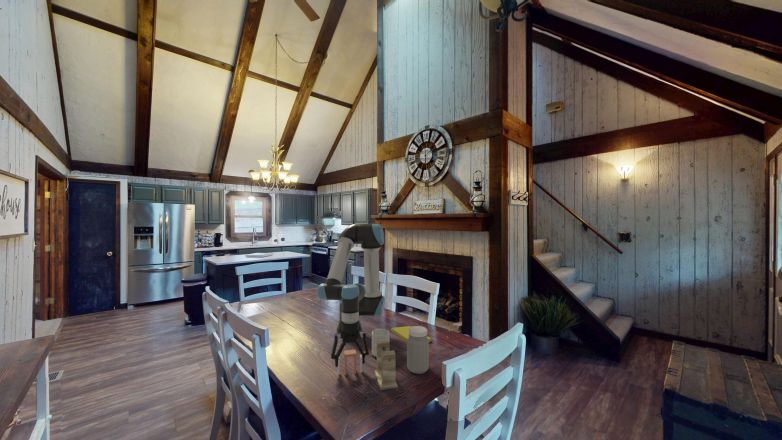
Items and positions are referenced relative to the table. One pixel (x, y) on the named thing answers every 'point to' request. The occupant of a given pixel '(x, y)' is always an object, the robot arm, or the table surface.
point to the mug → (378, 338)
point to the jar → (417, 350)
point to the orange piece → (346, 354)
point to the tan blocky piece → (385, 366)
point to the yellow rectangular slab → (404, 332)
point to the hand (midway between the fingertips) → (350, 372)
